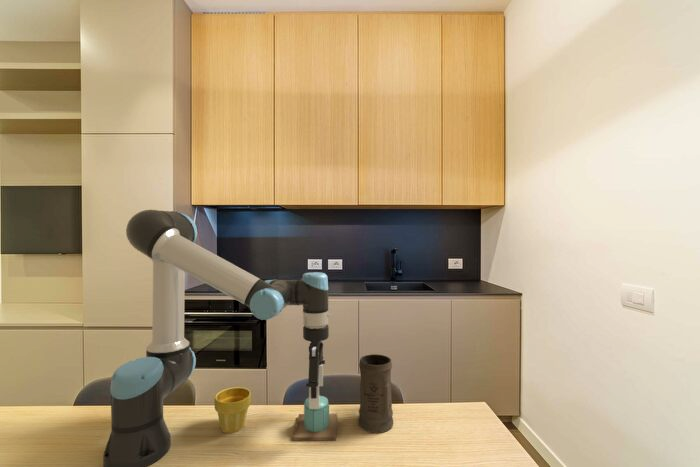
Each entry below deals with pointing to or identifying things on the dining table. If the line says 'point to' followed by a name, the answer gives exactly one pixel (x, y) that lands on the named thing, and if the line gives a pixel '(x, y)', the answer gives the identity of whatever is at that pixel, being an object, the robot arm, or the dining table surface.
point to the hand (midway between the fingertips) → (316, 396)
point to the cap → (316, 415)
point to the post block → (307, 435)
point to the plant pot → (232, 408)
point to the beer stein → (375, 394)
